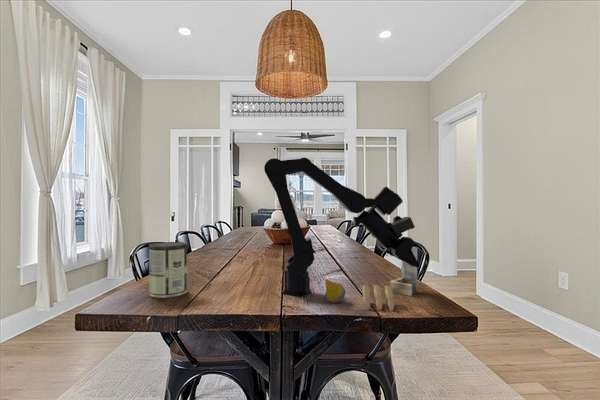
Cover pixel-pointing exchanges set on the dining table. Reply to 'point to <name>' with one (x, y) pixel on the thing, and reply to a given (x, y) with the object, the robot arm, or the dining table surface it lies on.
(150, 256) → the coffee can
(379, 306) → the ammunition
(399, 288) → the v block
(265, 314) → the dining table surface
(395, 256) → the robot arm
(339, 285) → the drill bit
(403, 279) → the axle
